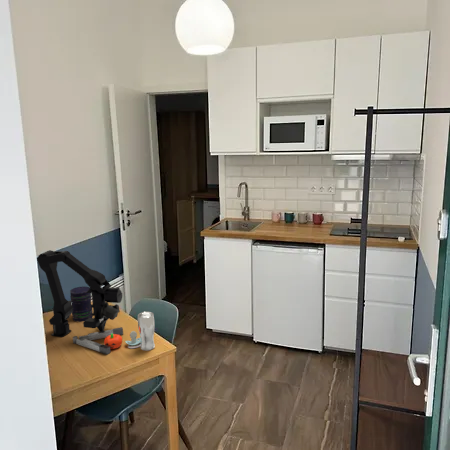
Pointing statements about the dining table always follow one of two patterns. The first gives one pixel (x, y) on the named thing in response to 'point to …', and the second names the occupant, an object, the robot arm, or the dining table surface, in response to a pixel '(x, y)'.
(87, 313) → the storage jar
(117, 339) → the pumpkin
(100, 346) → the tong base
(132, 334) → the pacifier
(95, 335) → the tong leg
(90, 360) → the dining table surface
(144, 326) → the silver drink can
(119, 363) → the dining table surface
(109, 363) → the dining table surface
